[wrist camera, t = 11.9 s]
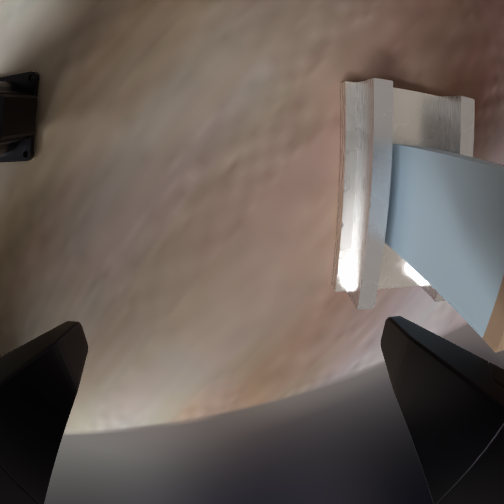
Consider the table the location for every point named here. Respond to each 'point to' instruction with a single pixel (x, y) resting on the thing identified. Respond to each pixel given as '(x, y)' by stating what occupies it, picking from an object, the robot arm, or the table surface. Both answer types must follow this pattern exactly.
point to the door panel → (452, 230)
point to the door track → (385, 177)
